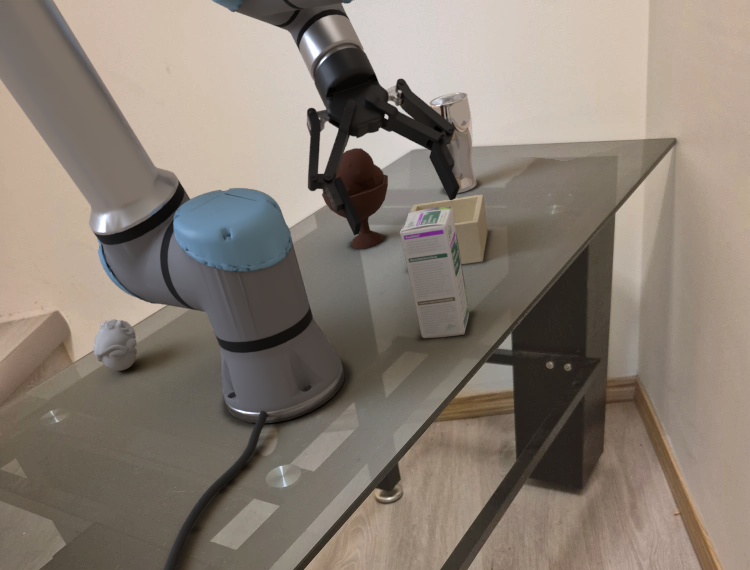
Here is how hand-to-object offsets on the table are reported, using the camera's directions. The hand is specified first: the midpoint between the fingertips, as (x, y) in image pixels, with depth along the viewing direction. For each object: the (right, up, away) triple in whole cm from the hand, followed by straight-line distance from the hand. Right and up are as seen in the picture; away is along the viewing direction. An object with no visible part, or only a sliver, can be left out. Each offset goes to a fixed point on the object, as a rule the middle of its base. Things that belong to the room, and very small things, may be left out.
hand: (407, 211), depth 93 cm
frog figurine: (-40, -17, +15) cm, 46 cm away
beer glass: (+12, +21, +43) cm, 49 cm away
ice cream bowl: (-5, +7, +32) cm, 33 cm away
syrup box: (+5, -14, +4) cm, 15 cm away
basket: (+8, +2, +22) cm, 23 cm away
